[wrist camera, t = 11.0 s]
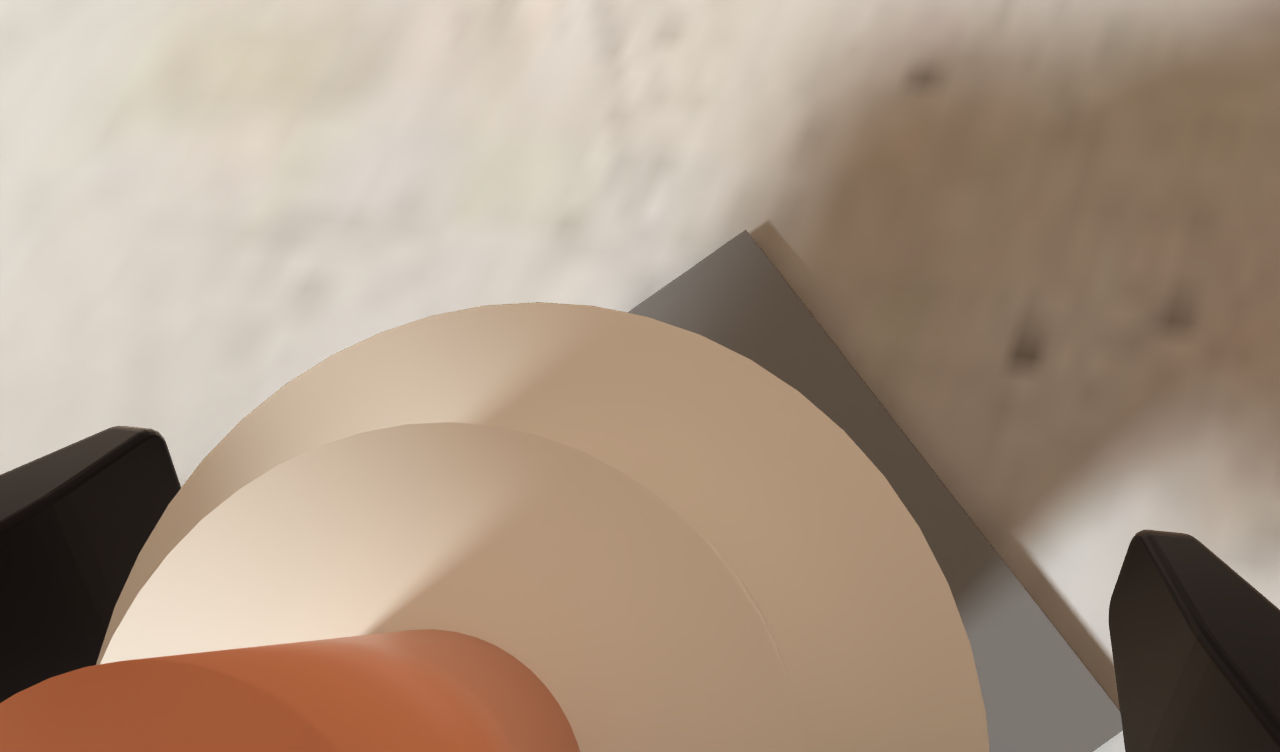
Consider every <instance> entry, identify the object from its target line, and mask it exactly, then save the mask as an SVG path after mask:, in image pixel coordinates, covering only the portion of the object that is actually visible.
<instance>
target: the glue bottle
mask: <svg viewBox="0 0 1280 752" xmlns="http://www.w3.org/2000/svg"><path fill="white" fill-rule="evenodd" d="M0 752H990V751H989V740H988V730H987V720H986V710H985V706H984V701H983V697H982V692H981V688H980V684H979V679H978V675H977V670H976V666H975V661H974V657H973V653H972V648H971V644H970V642H969V639H968V636H967V633H966V631H965V628H964V625H963V622H962V620H961V617H960V614H959V611H958V609H957V606H956V603H955V600H954V598H953V595H952V592H951V589H950V587H949V584H948V582H947V580H946V578H945V576H944V574H943V572H942V570H941V568H940V566H939V564H938V562H937V561H936V559H935V557H934V555H933V553H932V551H931V549H930V547H929V545H928V543H927V541H926V539H925V537H924V535H923V533H922V531H921V529H920V527H919V526H918V524H917V523H916V522H915V520H914V519H913V517H912V516H911V514H910V513H909V511H908V510H907V508H906V507H905V506H904V504H903V503H902V501H901V500H900V498H899V497H898V495H897V494H896V492H895V491H894V489H893V488H892V487H891V485H890V484H889V482H888V481H887V479H886V478H885V476H884V475H883V474H882V473H881V472H880V471H879V469H878V468H877V467H876V466H875V465H874V464H873V463H872V462H871V461H870V459H869V458H868V457H867V456H866V455H865V454H864V453H863V452H862V450H861V449H860V448H859V447H858V446H857V445H856V444H855V443H854V441H853V440H852V439H851V438H850V437H849V436H848V435H847V434H846V432H845V431H844V430H843V429H841V428H840V427H839V426H838V425H837V424H836V423H835V422H833V421H832V420H831V419H830V418H829V417H828V416H826V415H825V414H824V413H823V412H822V411H821V410H820V409H818V408H817V407H816V406H815V405H814V404H813V403H811V402H810V401H809V400H808V399H807V398H806V397H805V396H803V395H802V394H801V393H800V392H799V391H797V390H796V389H794V388H793V387H791V386H790V385H788V384H787V383H785V382H784V381H782V380H781V379H779V378H778V377H776V376H775V375H773V374H772V373H770V372H769V371H767V370H766V369H764V368H763V367H761V366H760V365H758V364H757V363H755V362H754V361H752V360H750V359H748V358H746V357H744V356H742V355H740V354H738V353H736V352H734V351H732V350H730V349H728V348H726V347H724V346H722V345H720V344H718V343H716V342H714V341H712V340H710V339H708V338H706V337H704V336H702V335H700V334H697V333H694V332H691V331H688V330H685V329H682V328H679V327H676V326H673V325H670V324H667V323H664V322H661V321H658V320H655V319H652V318H649V317H646V316H641V315H636V314H631V313H626V312H621V311H616V310H611V309H606V308H601V307H596V306H586V305H571V304H557V303H542V302H536V303H519V304H503V305H487V306H480V307H475V308H470V309H465V310H459V311H454V312H449V313H444V314H439V315H433V316H430V317H427V318H424V319H421V320H417V321H414V322H411V323H408V324H405V325H402V326H399V327H396V328H393V329H390V330H387V331H384V332H381V333H379V334H376V335H374V336H372V337H370V338H368V339H366V340H364V341H361V342H359V343H357V344H355V345H353V346H351V347H349V348H347V349H344V350H342V351H340V352H338V353H336V354H334V355H332V356H330V357H328V358H327V359H325V360H324V361H322V362H320V363H319V364H317V365H316V366H314V367H313V368H311V369H309V370H308V371H306V372H305V373H303V374H301V375H300V376H298V377H297V378H295V379H293V380H292V381H290V382H289V383H287V384H285V385H284V386H283V387H282V388H280V389H279V390H278V391H277V392H276V393H274V394H273V395H272V396H271V397H269V398H268V399H267V400H266V401H264V402H263V403H262V404H261V405H259V406H258V407H257V408H256V409H255V410H253V411H252V412H251V413H250V414H248V415H247V416H246V417H245V418H243V419H242V420H241V421H240V422H239V423H238V424H237V425H236V426H235V427H234V428H233V429H232V431H231V432H230V433H229V434H228V435H227V436H226V437H225V438H224V439H223V440H222V441H221V442H220V443H219V444H218V445H217V446H216V447H215V448H214V449H213V450H212V451H211V452H210V453H209V454H208V455H207V456H206V457H205V458H204V459H203V461H202V462H201V463H200V464H199V466H198V467H197V468H196V470H195V471H194V472H193V473H192V475H191V476H190V477H189V479H188V480H187V481H186V483H185V484H184V485H183V486H182V488H181V489H180V490H179V492H178V493H177V494H176V496H175V497H174V498H173V499H172V501H171V502H170V503H169V505H168V506H167V508H166V510H165V511H164V513H163V515H162V516H161V518H160V520H159V521H158V523H157V525H156V526H155V528H154V530H153V531H152V533H151V535H150V536H149V538H148V540H147V541H146V543H145V545H144V546H143V548H142V550H141V551H140V553H139V555H138V557H137V559H136V561H135V564H134V566H133V568H132V570H131V572H130V575H129V577H128V579H127V581H126V583H125V585H124V588H123V590H122V592H121V594H120V596H119V599H118V601H117V603H116V605H115V608H114V611H113V614H112V617H111V620H110V623H109V626H108V629H107V632H106V635H105V638H104V641H103V644H102V647H101V650H100V654H99V657H98V660H97V663H96V665H94V666H88V667H83V668H80V669H77V670H74V671H70V672H67V673H64V674H61V675H58V676H54V677H51V678H49V679H46V680H44V681H42V682H40V683H38V684H36V685H33V686H31V687H29V688H27V689H25V690H23V691H21V692H18V693H16V694H14V695H13V696H11V697H10V698H8V699H6V700H5V701H3V702H2V703H0Z"/></svg>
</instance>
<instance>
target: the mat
mask: <svg viewBox="0 0 1280 752" xmlns="http://www.w3.org/2000/svg"><path fill="white" fill-rule="evenodd" d="M628 313H631V314H636V315H641V316H646V317H649V318H652V319H655V320H658V321H661V322H664V323H667V324H670V325H673V326H676V327H679V328H682V329H685V330H688V331H691V332H694V333H697V334H700V335H702V336H704V337H706V338H708V339H710V340H712V341H714V342H716V343H718V344H720V345H722V346H724V347H726V348H728V349H730V350H732V351H734V352H736V353H738V354H740V355H742V356H744V357H746V358H748V359H750V360H752V361H754V362H755V363H757V364H758V365H760V366H761V367H763V368H764V369H766V370H767V371H769V372H770V373H772V374H773V375H775V376H776V377H778V378H779V379H781V380H782V381H784V382H785V383H787V384H788V385H790V386H791V387H793V388H794V389H796V390H797V391H799V392H800V393H801V394H802V395H803V396H805V397H806V398H807V399H808V400H809V401H810V402H811V403H813V404H814V405H815V406H816V407H817V408H818V409H820V410H821V411H822V412H823V413H824V414H825V415H826V416H828V417H829V418H830V419H831V420H832V421H833V422H835V423H836V424H837V425H838V426H839V427H840V428H841V429H843V430H844V431H845V432H846V434H847V435H848V436H849V437H850V438H851V439H852V440H853V441H854V443H855V444H856V445H857V446H858V447H859V448H860V449H861V450H862V452H863V453H864V454H865V455H866V456H867V457H868V458H869V459H870V461H871V462H872V463H873V464H874V465H875V466H876V467H877V468H878V469H879V471H880V472H881V473H882V474H883V475H884V476H885V478H886V479H887V481H888V482H889V484H890V485H891V487H892V488H893V489H894V491H895V492H896V494H897V495H898V497H899V498H900V500H901V501H902V503H903V504H904V506H905V507H906V508H907V510H908V511H909V513H910V514H911V516H912V517H913V519H914V520H915V522H916V523H917V524H918V526H919V527H920V529H921V531H922V533H923V535H924V537H925V539H926V541H927V543H928V545H929V547H930V549H931V551H932V553H933V555H934V557H935V559H936V561H937V562H938V564H939V566H940V568H941V570H942V572H943V574H944V576H945V578H946V580H947V582H948V584H949V587H950V589H951V592H952V595H953V598H954V600H955V603H956V606H957V609H958V611H959V614H960V617H961V620H962V622H963V625H964V628H965V631H966V633H967V636H968V639H969V642H970V644H971V648H972V653H973V657H974V661H975V666H976V670H977V675H978V679H979V684H980V688H981V692H982V697H983V701H984V706H985V710H986V720H987V730H988V740H989V751H990V752H1093V751H1094V750H1096V749H1097V748H1098V747H1100V746H1101V745H1103V744H1104V743H1105V742H1107V741H1108V740H1110V739H1111V738H1112V737H1114V736H1115V735H1117V734H1118V733H1119V732H1121V731H1122V730H1123V728H1122V721H1121V713H1120V711H1119V709H1118V708H1117V707H1116V705H1115V704H1114V703H1113V702H1112V700H1111V699H1110V698H1109V696H1108V695H1107V694H1106V693H1105V691H1104V690H1103V689H1102V687H1101V686H1100V685H1099V684H1098V682H1097V681H1096V680H1095V678H1094V677H1093V676H1092V675H1091V673H1090V672H1089V671H1088V669H1087V668H1086V667H1085V666H1084V664H1083V663H1082V662H1081V660H1080V659H1079V658H1078V657H1077V655H1076V654H1075V653H1074V651H1073V650H1072V649H1071V648H1070V646H1069V645H1068V644H1067V642H1066V641H1065V640H1064V639H1063V637H1062V636H1061V635H1060V633H1059V632H1058V631H1057V630H1056V628H1055V627H1054V626H1053V624H1052V623H1051V622H1050V621H1049V619H1048V618H1047V617H1046V615H1045V614H1044V613H1043V612H1042V610H1041V609H1040V608H1039V606H1038V605H1037V604H1036V603H1035V601H1034V600H1033V599H1032V597H1031V596H1030V595H1029V594H1028V592H1027V591H1026V590H1025V588H1024V587H1023V586H1022V584H1021V583H1020V582H1019V581H1018V579H1017V578H1016V577H1015V575H1014V574H1013V573H1012V572H1011V570H1010V569H1009V568H1008V566H1007V565H1006V564H1005V563H1004V561H1003V560H1002V559H1001V557H1000V556H999V555H998V554H997V552H996V551H995V550H994V548H993V547H992V546H991V545H990V543H989V542H988V541H987V539H986V538H985V537H984V536H983V534H982V533H981V532H980V530H979V529H978V528H977V527H976V525H975V524H974V523H973V521H972V520H971V519H970V518H969V516H968V515H967V514H966V512H965V511H964V510H963V509H962V507H961V506H960V505H959V503H958V502H957V501H956V500H955V498H954V497H953V496H952V494H951V493H950V492H949V491H948V489H947V488H946V487H945V485H944V484H943V483H942V482H941V480H940V479H939V478H938V476H937V475H936V474H935V473H934V471H933V470H932V469H931V467H930V466H929V465H928V464H927V462H926V461H925V460H924V458H923V457H922V456H921V455H920V453H919V452H918V451H917V449H916V448H915V447H914V445H913V444H912V443H911V442H910V440H909V439H908V438H907V436H906V435H905V434H904V433H903V431H902V430H901V429H900V427H899V426H898V425H897V424H896V422H895V421H894V420H893V418H892V417H891V416H890V415H889V413H888V412H887V411H886V409H885V408H884V407H883V406H882V404H881V403H880V402H879V400H878V399H877V398H876V397H875V395H874V394H873V393H872V391H871V390H870V389H869V388H868V386H867V385H866V384H865V382H864V381H863V380H862V379H861V377H860V376H859V375H858V373H857V372H856V371H855V370H854V368H853V367H852V366H851V364H850V363H849V362H848V361H847V359H846V358H845V357H844V355H843V354H842V353H841V352H840V350H839V349H838V348H837V346H836V345H835V344H834V343H833V341H832V340H831V339H830V337H829V336H828V335H827V334H826V332H825V331H824V330H823V328H822V327H821V326H820V325H819V323H818V322H817V321H816V319H815V318H814V317H813V316H812V314H811V313H810V312H809V310H808V309H807V308H806V307H805V305H804V304H803V303H802V301H801V300H800V299H799V297H798V296H797V295H796V294H795V292H794V291H793V290H792V288H791V287H790V286H789V285H788V283H787V282H786V281H785V279H784V278H783V277H782V276H781V274H780V273H779V272H778V270H777V269H776V268H775V267H774V265H773V264H772V263H771V261H770V260H769V259H768V258H767V256H766V255H765V254H764V252H763V251H762V250H761V249H760V247H759V246H758V245H757V243H756V242H755V241H754V240H753V238H752V237H751V236H750V234H749V233H748V232H747V231H746V230H745V231H744V232H742V233H741V234H739V235H738V236H736V237H735V238H734V239H732V240H731V241H729V242H728V243H726V244H725V245H724V246H722V247H721V248H719V249H718V250H716V251H715V252H714V253H712V254H711V255H709V256H708V257H706V258H705V259H704V260H702V261H701V262H699V263H698V264H696V265H695V266H694V267H692V268H691V269H689V270H688V271H686V272H685V273H684V274H682V275H681V276H679V277H678V278H676V279H675V280H674V281H672V282H671V283H669V284H668V285H666V286H665V287H664V288H662V289H661V290H659V291H658V292H656V293H655V294H654V295H652V296H651V297H649V298H648V299H646V300H645V301H644V302H642V303H641V304H639V305H638V306H636V307H635V308H633V309H632V310H631V311H629V312H628Z"/></svg>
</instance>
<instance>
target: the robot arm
mask: <svg viewBox="0 0 1280 752" xmlns="http://www.w3.org/2000/svg"><path fill="white" fill-rule="evenodd" d="M180 489H181V486H180V483H179V480H178V477H177V474H176V471H175V468H174V465H173V462H172V459H171V456H170V453H169V450H168V447H167V444H166V442H165V440H164V438H163V437H162V436H161V434H160V433H159V432H157V431H155V430H153V429H147V428H138V427H128V426H116V427H112V428H109V429H106V430H104V431H102V432H99V433H97V434H95V435H92V436H90V437H88V438H85V439H83V440H81V441H78V442H76V443H74V444H71V445H69V446H67V447H64V448H62V449H60V450H57V451H55V452H53V453H50V454H48V455H46V456H43V457H41V458H39V459H36V460H34V461H32V462H30V463H27V464H25V465H23V466H20V467H18V468H16V469H13V470H11V471H9V472H6V473H4V474H2V475H0V703H2V702H3V701H5V700H6V699H8V698H10V697H11V696H13V695H14V694H16V693H18V692H21V691H23V690H25V689H27V688H29V687H31V686H33V685H36V684H38V683H40V682H42V681H44V680H46V679H49V678H51V677H54V676H58V675H61V674H64V673H67V672H70V671H74V670H77V669H80V668H83V667H88V666H94V665H96V663H97V660H98V657H99V654H100V650H101V647H102V644H103V641H104V638H105V635H106V632H107V629H108V626H109V623H110V620H111V617H112V614H113V611H114V608H115V605H116V603H117V601H118V599H119V596H120V594H121V592H122V590H123V588H124V585H125V583H126V581H127V579H128V577H129V575H130V572H131V570H132V568H133V566H134V564H135V561H136V559H137V557H138V555H139V553H140V551H141V550H142V548H143V546H144V545H145V543H146V541H147V540H148V538H149V536H150V535H151V533H152V531H153V530H154V528H155V526H156V525H157V523H158V521H159V520H160V518H161V516H162V515H163V513H164V511H165V510H166V508H167V506H168V505H169V503H170V502H171V501H172V499H173V498H174V497H175V496H176V494H177V493H178V492H179V490H180ZM1109 629H1110V637H1111V645H1112V652H1113V660H1114V667H1115V675H1116V683H1117V690H1118V698H1119V705H1120V713H1121V721H1122V728H1123V736H1124V743H1125V751H1126V752H1280V610H1279V609H1278V608H1277V607H1276V606H1275V605H1274V604H1272V603H1271V602H1270V601H1269V600H1268V599H1266V598H1265V597H1264V596H1263V595H1262V594H1261V593H1259V592H1258V591H1257V590H1256V589H1255V588H1254V587H1252V586H1251V585H1250V584H1249V583H1248V582H1247V581H1245V580H1244V579H1243V578H1242V577H1241V576H1239V575H1238V574H1237V573H1236V572H1235V571H1234V570H1232V569H1231V568H1230V567H1229V566H1228V565H1227V564H1225V563H1224V562H1223V561H1222V560H1221V559H1220V558H1218V557H1217V556H1216V555H1215V554H1214V553H1213V552H1211V551H1210V550H1209V549H1208V548H1207V547H1205V546H1204V545H1203V544H1202V543H1201V542H1200V541H1198V540H1197V539H1195V538H1194V537H1193V536H1190V535H1188V534H1183V533H1175V532H1165V531H1155V530H1143V531H1140V532H1138V533H1136V535H1135V536H1134V537H1133V539H1132V540H1131V543H1130V545H1129V548H1128V551H1127V554H1126V556H1125V559H1124V562H1123V565H1122V568H1121V571H1120V574H1119V577H1118V580H1117V583H1116V585H1115V588H1114V591H1113V594H1112V597H1111V601H1110V607H1109Z"/></svg>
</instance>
